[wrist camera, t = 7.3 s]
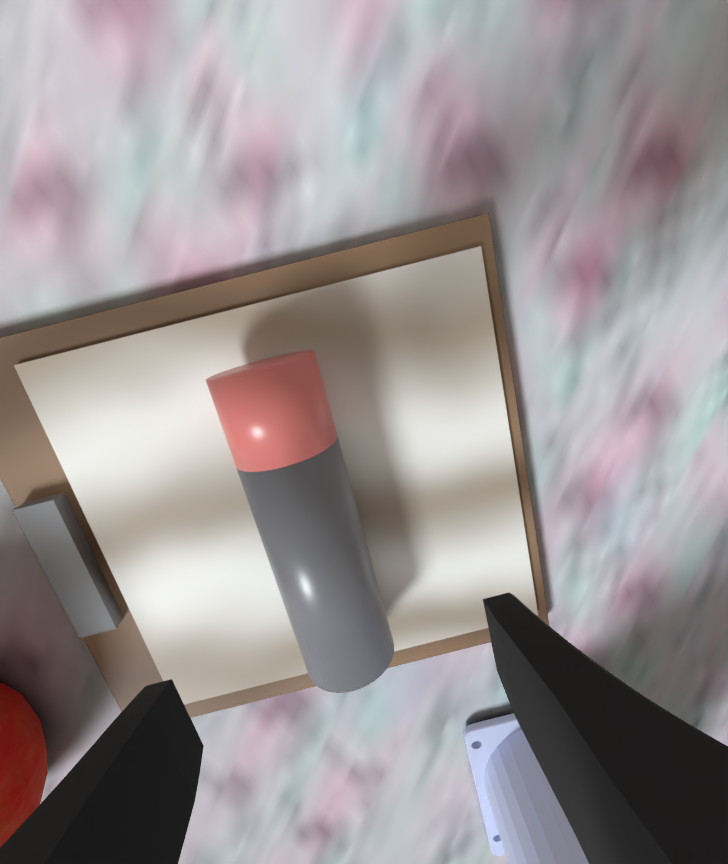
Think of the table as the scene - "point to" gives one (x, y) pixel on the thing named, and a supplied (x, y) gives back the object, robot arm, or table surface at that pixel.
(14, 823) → the apple
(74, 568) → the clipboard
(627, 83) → the table surface
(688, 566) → the table surface
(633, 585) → the table surface
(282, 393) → the marker
